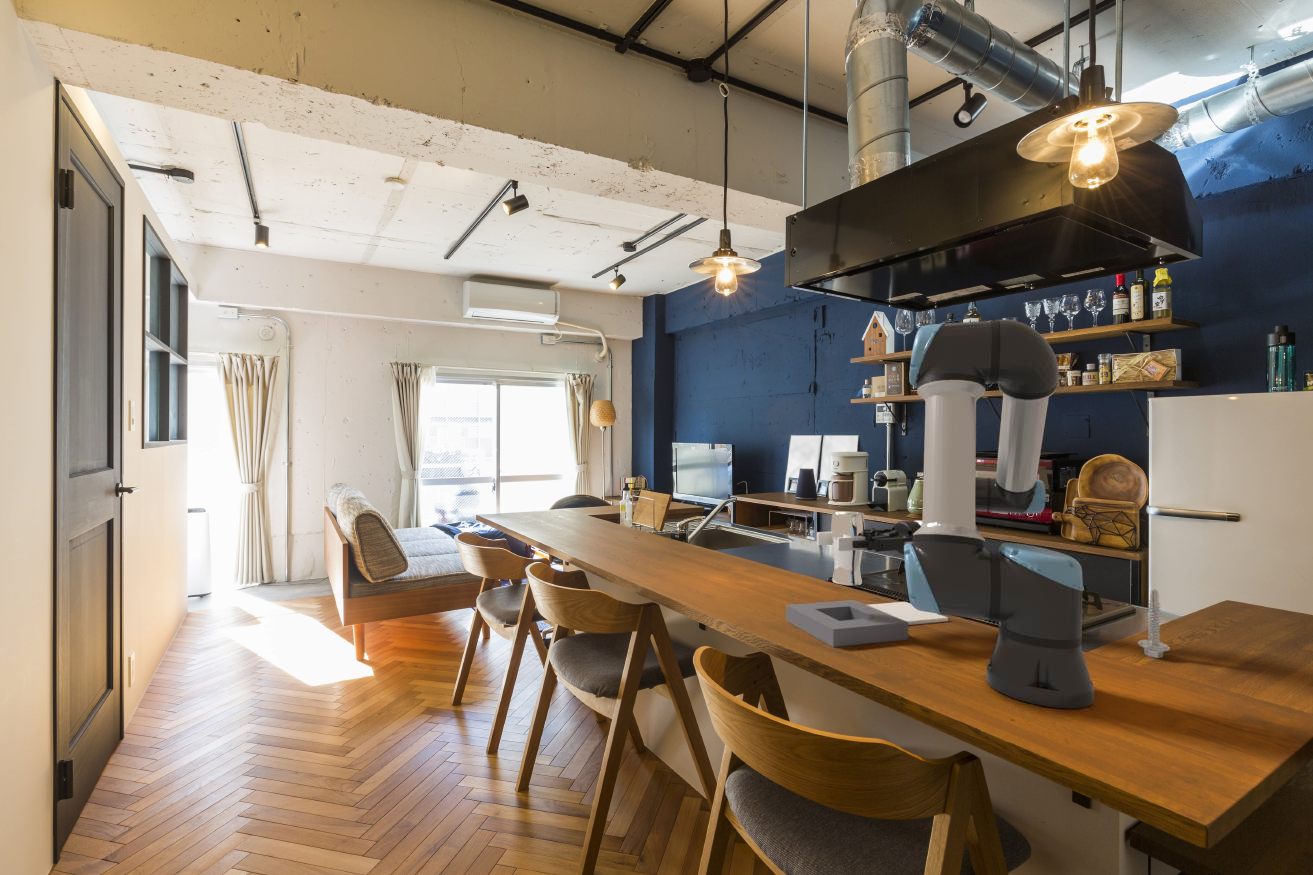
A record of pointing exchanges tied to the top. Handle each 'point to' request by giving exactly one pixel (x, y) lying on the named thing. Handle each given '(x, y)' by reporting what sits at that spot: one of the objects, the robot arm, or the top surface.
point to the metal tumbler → (847, 560)
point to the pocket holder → (846, 623)
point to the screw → (1154, 630)
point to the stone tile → (909, 613)
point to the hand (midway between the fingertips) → (827, 541)
